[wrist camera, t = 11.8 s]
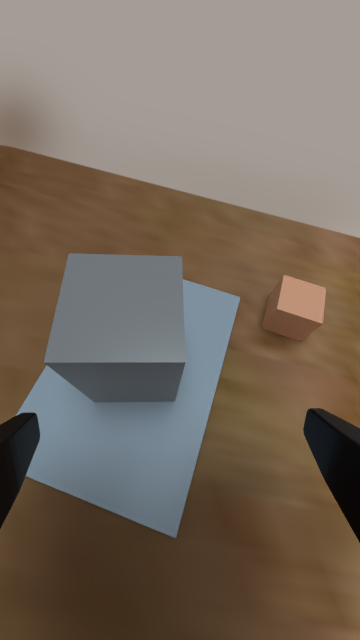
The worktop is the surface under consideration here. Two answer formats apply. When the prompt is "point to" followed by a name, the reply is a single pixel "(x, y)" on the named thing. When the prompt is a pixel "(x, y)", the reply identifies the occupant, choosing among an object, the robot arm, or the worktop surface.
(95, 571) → the worktop surface
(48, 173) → the worktop surface
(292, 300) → the exposed block
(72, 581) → the worktop surface
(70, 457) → the board
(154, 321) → the tall gray block
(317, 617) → the worktop surface
